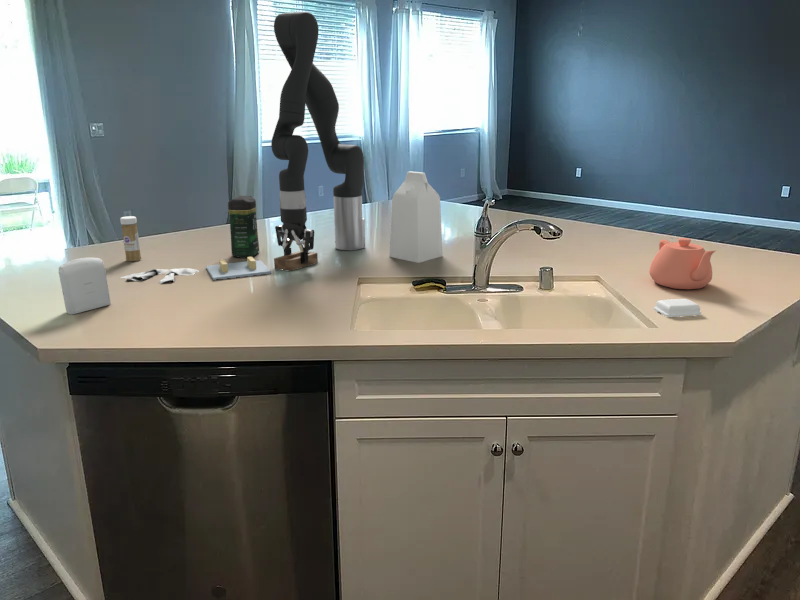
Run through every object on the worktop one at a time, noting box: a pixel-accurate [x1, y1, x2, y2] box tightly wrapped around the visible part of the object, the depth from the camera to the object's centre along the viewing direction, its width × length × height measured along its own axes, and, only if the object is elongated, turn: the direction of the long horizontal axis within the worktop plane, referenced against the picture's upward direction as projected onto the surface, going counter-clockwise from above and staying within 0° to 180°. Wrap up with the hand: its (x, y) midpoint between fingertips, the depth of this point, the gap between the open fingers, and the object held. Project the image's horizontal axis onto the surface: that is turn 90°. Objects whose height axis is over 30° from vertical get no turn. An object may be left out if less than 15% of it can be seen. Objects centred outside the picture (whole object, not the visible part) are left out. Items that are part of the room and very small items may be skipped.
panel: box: [206, 256, 272, 281], centre depth 185 cm, size 16×14×3 cm
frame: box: [273, 250, 319, 272], centre depth 191 cm, size 12×6×3 cm, turn 144°
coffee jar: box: [227, 195, 260, 259], centre depth 201 cm, size 10×8×19 cm
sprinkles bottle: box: [119, 215, 142, 263], centre depth 196 cm, size 5×5×13 cm
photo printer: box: [58, 256, 111, 315], centre depth 152 cm, size 10×4×12 cm, turn 140°
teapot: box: [648, 237, 716, 290], centre depth 168 cm, size 22×15×12 cm
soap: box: [653, 298, 702, 318], centre depth 148 cm, size 9×7×3 cm
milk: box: [389, 171, 443, 264], centre depth 197 cm, size 12×12×26 cm
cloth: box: [119, 267, 200, 285], centre depth 179 cm, size 20×22×2 cm
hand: (296, 261), depth 191 cm, fingers closed on frame, 6 cm apart
